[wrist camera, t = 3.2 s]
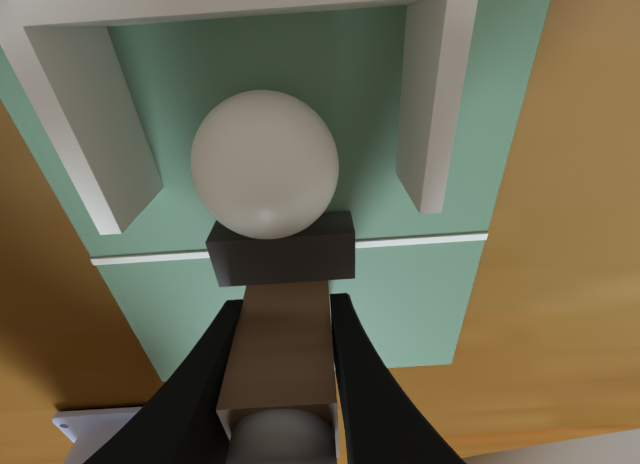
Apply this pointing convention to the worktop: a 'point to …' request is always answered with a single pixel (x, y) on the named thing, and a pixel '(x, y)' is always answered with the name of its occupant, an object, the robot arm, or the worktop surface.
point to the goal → (199, 4)
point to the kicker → (282, 341)
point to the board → (353, 154)
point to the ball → (264, 164)
